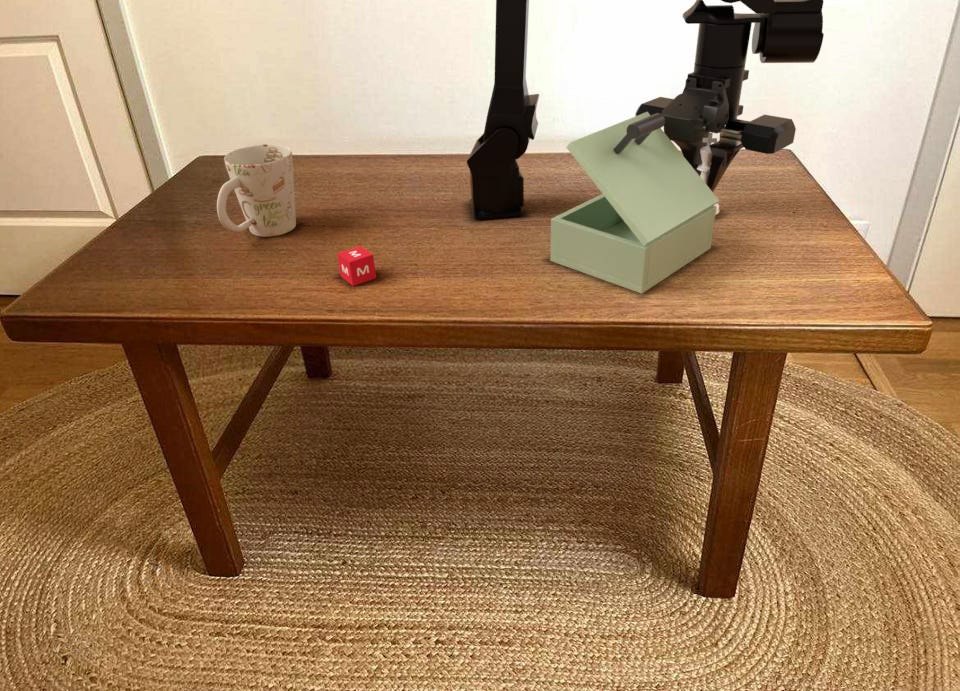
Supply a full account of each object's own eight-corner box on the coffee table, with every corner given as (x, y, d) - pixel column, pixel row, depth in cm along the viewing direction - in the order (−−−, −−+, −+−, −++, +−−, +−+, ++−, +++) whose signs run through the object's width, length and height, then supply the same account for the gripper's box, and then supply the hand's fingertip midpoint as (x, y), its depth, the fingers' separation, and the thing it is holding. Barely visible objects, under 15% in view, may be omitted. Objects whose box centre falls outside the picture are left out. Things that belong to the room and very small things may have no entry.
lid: (565, 147, 76) (591, 114, 72) (643, 116, 85) (670, 85, 81) (643, 246, 75) (674, 219, 71) (714, 204, 83) (745, 177, 79)
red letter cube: (376, 278, 83) (373, 254, 81) (353, 286, 82) (349, 262, 80) (363, 269, 85) (360, 245, 83) (340, 277, 84) (337, 253, 82)
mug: (317, 220, 98) (304, 147, 93) (256, 258, 89) (238, 180, 83) (268, 212, 101) (253, 141, 96) (205, 248, 92) (184, 172, 86)
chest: (550, 261, 85) (550, 218, 82) (621, 222, 94) (624, 182, 91) (641, 293, 77) (645, 248, 75) (710, 248, 86) (716, 206, 83)
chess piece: (720, 218, 92) (733, 140, 87) (680, 216, 93) (690, 138, 88) (717, 203, 96) (729, 128, 91) (679, 201, 97) (689, 127, 92)
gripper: (613, 66, 86) (605, 192, 94) (764, 88, 75) (740, 228, 83) (664, 50, 92) (653, 169, 101) (809, 68, 81) (783, 200, 90)
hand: (702, 190), depth 93 cm, fingers closed on chess piece
